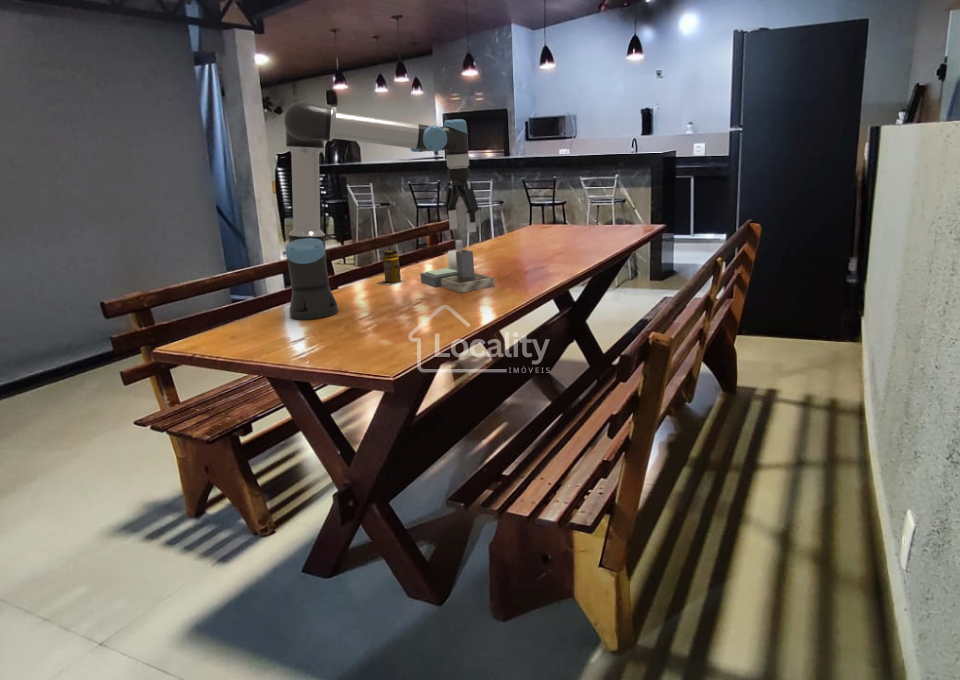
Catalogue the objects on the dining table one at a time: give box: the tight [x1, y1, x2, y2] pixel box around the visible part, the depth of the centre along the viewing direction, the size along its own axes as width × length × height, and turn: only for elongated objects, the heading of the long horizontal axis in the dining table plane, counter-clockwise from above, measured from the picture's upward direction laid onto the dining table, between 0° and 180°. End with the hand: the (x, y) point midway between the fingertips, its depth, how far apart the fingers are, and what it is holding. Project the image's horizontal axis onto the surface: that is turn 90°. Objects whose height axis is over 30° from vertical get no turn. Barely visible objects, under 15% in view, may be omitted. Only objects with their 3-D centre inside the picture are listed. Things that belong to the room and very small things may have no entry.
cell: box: [456, 248, 475, 283], centre depth 236 cm, size 4×4×13 cm
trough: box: [440, 272, 496, 294], centre depth 238 cm, size 14×14×3 cm
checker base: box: [420, 265, 458, 288], centre depth 248 cm, size 12×12×4 cm
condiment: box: [377, 249, 406, 286], centre depth 254 cm, size 7×8×12 cm
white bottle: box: [447, 239, 464, 271], centre depth 260 cm, size 8×8×13 cm
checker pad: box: [425, 267, 457, 277], centre depth 248 cm, size 9×9×2 cm
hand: (462, 230), depth 233 cm, fingers open, 13 cm apart
